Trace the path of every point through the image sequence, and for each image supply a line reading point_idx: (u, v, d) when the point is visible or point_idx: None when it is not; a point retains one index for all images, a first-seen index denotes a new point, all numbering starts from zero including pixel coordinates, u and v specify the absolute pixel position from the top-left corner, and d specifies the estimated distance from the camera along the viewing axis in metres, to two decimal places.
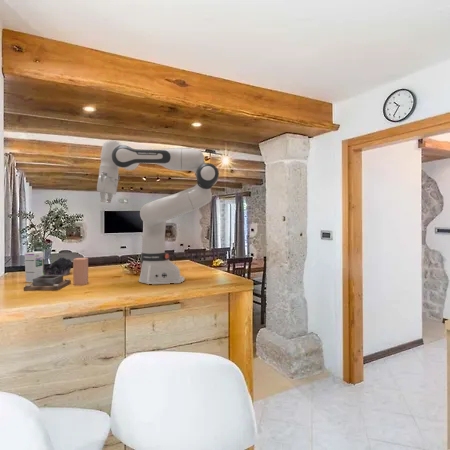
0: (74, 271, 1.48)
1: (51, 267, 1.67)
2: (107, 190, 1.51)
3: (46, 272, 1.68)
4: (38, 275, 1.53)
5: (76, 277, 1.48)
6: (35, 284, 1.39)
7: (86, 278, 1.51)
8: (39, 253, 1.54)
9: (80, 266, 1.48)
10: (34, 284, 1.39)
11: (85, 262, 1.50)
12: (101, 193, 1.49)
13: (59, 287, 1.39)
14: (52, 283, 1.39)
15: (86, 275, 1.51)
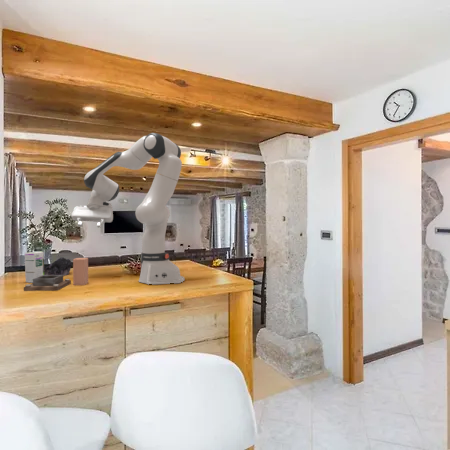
0: (74, 271, 1.48)
1: (51, 267, 1.67)
2: (80, 215, 1.63)
3: (46, 272, 1.68)
4: (38, 275, 1.53)
5: (76, 277, 1.48)
6: (35, 284, 1.39)
7: (86, 278, 1.51)
8: (39, 253, 1.54)
9: (80, 266, 1.48)
10: (34, 284, 1.39)
11: (85, 262, 1.50)
12: None
13: (59, 287, 1.39)
14: (52, 283, 1.39)
15: (86, 275, 1.51)
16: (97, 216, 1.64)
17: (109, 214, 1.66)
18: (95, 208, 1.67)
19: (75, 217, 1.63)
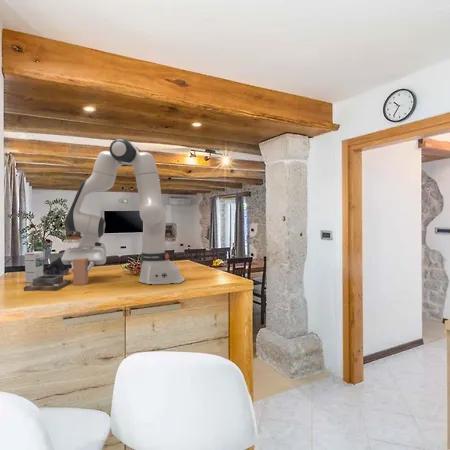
0: (74, 271, 1.48)
1: (50, 267, 1.67)
2: (70, 258, 1.52)
3: (45, 272, 1.68)
4: (38, 275, 1.53)
5: (76, 277, 1.48)
6: (35, 284, 1.39)
7: (86, 278, 1.51)
8: (39, 253, 1.54)
9: (80, 266, 1.48)
10: (34, 284, 1.39)
11: (85, 262, 1.50)
12: None
13: (59, 287, 1.39)
14: (52, 283, 1.39)
15: (86, 275, 1.51)
16: (89, 259, 1.52)
17: (101, 256, 1.54)
18: (87, 250, 1.55)
19: (65, 261, 1.52)
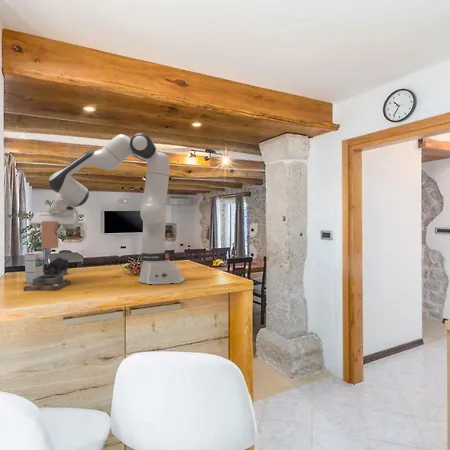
0: (43, 233, 1.41)
1: (48, 267, 1.67)
2: (40, 221, 1.45)
3: None
4: (38, 275, 1.53)
5: (44, 240, 1.41)
6: (35, 284, 1.39)
7: (55, 242, 1.44)
8: (39, 253, 1.54)
9: (49, 228, 1.41)
10: (34, 284, 1.39)
11: (55, 225, 1.43)
12: None
13: (59, 287, 1.39)
14: (52, 283, 1.39)
15: (56, 239, 1.44)
16: (59, 222, 1.46)
17: (73, 219, 1.47)
18: (58, 213, 1.49)
19: (34, 224, 1.45)
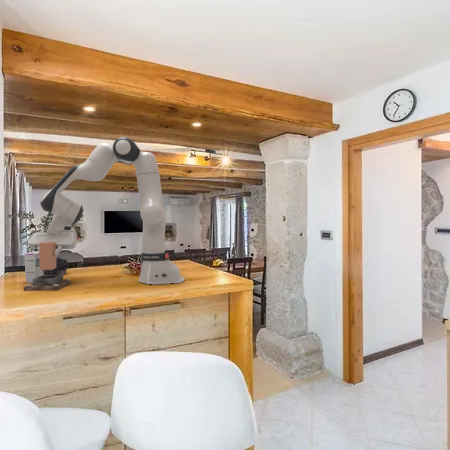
0: (40, 255, 1.41)
1: None
2: (38, 242, 1.45)
3: None
4: (38, 275, 1.53)
5: (42, 261, 1.41)
6: (35, 284, 1.39)
7: (53, 263, 1.44)
8: None
9: (47, 250, 1.41)
10: (34, 284, 1.39)
11: (53, 246, 1.43)
12: None
13: (59, 287, 1.39)
14: (52, 283, 1.39)
15: (54, 260, 1.44)
16: (57, 243, 1.45)
17: (70, 240, 1.47)
18: (55, 234, 1.48)
19: (32, 245, 1.45)
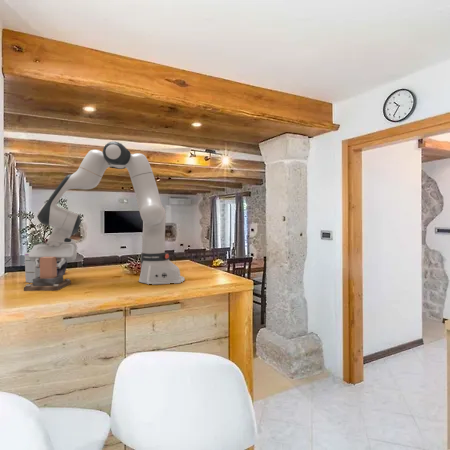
0: (41, 270, 1.41)
1: None
2: (38, 255, 1.45)
3: None
4: (38, 275, 1.53)
5: (42, 276, 1.41)
6: (35, 284, 1.39)
7: None
8: None
9: (47, 265, 1.41)
10: (34, 284, 1.39)
11: (53, 261, 1.43)
12: None
13: (59, 287, 1.39)
14: (52, 283, 1.39)
15: (54, 274, 1.44)
16: (57, 255, 1.45)
17: (71, 252, 1.47)
18: (55, 246, 1.48)
19: (32, 258, 1.45)
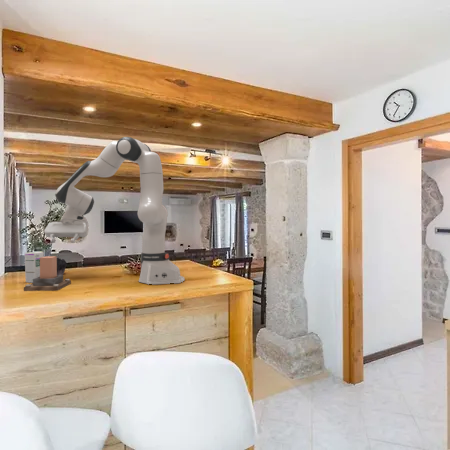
0: (41, 270, 1.41)
1: None
2: (53, 231, 1.58)
3: None
4: (38, 275, 1.53)
5: (42, 276, 1.41)
6: (35, 284, 1.39)
7: None
8: (39, 253, 1.54)
9: (47, 265, 1.41)
10: (34, 284, 1.39)
11: (53, 261, 1.43)
12: None
13: (59, 287, 1.39)
14: (52, 283, 1.39)
15: (54, 274, 1.44)
16: (71, 231, 1.58)
17: (83, 228, 1.60)
18: (69, 223, 1.61)
19: (48, 233, 1.58)
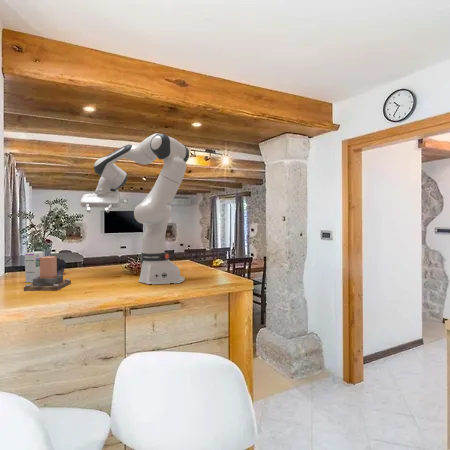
0: (41, 270, 1.41)
1: None
2: (88, 201, 1.67)
3: None
4: (38, 275, 1.53)
5: (42, 276, 1.41)
6: (35, 284, 1.39)
7: None
8: (39, 253, 1.54)
9: (47, 265, 1.41)
10: (34, 284, 1.39)
11: (53, 261, 1.43)
12: None
13: (59, 287, 1.39)
14: (52, 283, 1.39)
15: (54, 274, 1.44)
16: (105, 202, 1.68)
17: (116, 199, 1.69)
18: (103, 194, 1.71)
19: (84, 203, 1.67)
